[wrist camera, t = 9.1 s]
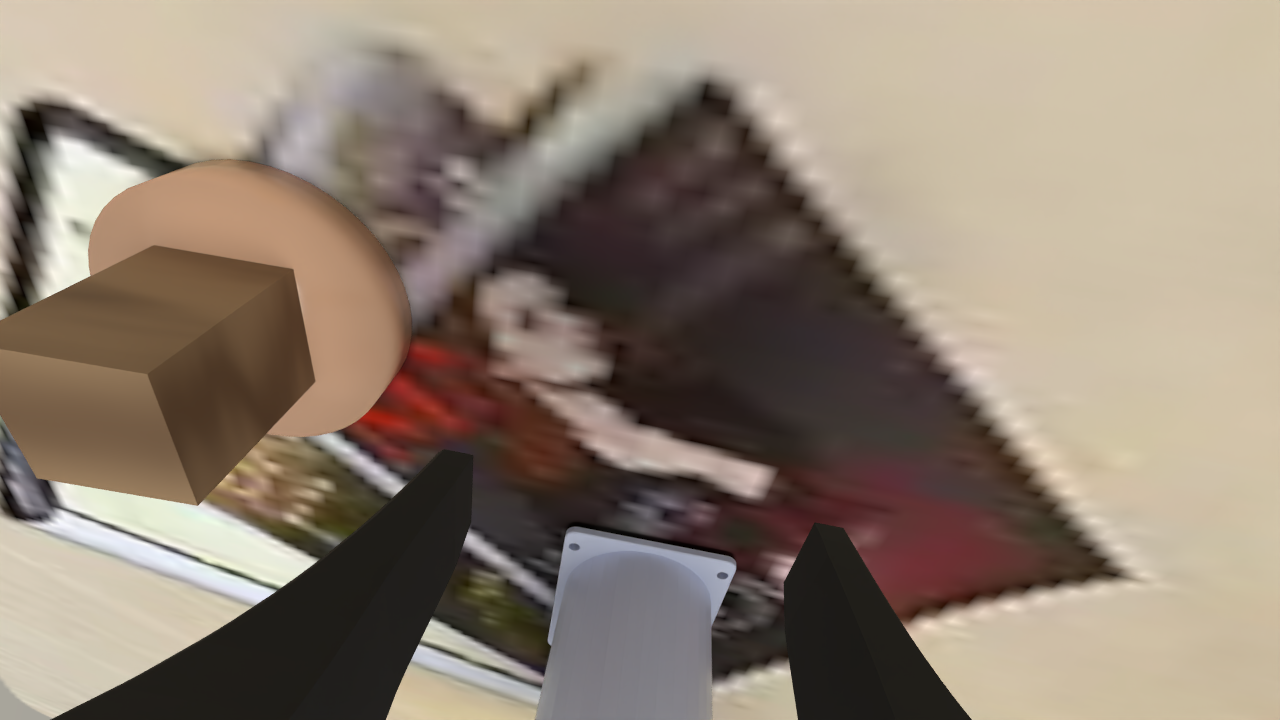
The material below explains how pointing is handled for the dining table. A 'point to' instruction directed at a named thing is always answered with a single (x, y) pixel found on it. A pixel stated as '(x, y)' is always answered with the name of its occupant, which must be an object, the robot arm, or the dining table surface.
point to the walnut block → (154, 372)
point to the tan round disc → (286, 237)
